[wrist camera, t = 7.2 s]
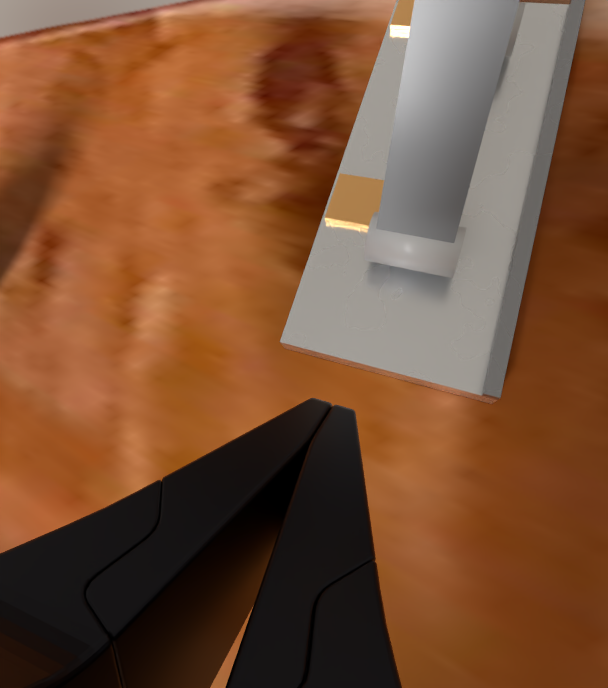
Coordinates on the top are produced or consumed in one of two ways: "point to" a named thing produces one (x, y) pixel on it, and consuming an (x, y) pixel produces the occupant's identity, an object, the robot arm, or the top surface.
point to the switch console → (478, 217)
